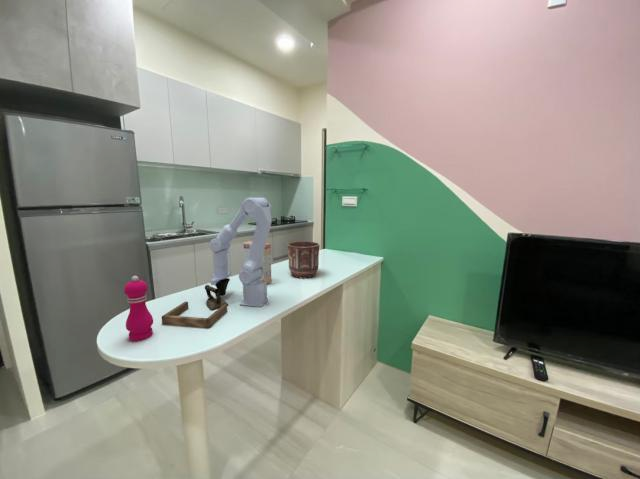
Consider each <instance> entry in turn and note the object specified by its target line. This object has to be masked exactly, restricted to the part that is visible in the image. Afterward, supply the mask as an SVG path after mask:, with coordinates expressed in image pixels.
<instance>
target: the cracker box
mask: <svg viewBox="0 0 640 479" xmlns="http://www.w3.org/2000/svg"><path fill="white" fill-rule="evenodd" d="M252 241H253V240H249V241H244V242H243V262H244V264H245V263H246V262H247V260H248V257H249V253H250V249H251V245H252ZM261 262H262V263H263V264H264V266H263V270H264V274H263V276H262V277H261V282H263V283H266V284H267V285H269V284H271V283H272V244H271V243H269V242H266V246H265V249H264V253H263V257H262V261H261ZM244 264H243V265H244Z"/></svg>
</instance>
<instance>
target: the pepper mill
mask: <svg viewBox="0 0 640 479" xmlns="http://www.w3.org/2000/svg"><path fill="white" fill-rule="evenodd" d="M148 288H149V287H148V284H147V283H146V282H145V281H144V280H142V279H139V276H137V275H133V276H131V281H129V282H126V284H125V285H124V289H123V292H124V294H125V295H126V297H127V298H126V299H127V300H126V301H127V303H128V304H129V312H128V316H127V319H126V321H125V328H126V330H127V331H128V339H129V341H131V342H132V341H133V342H138V341H139V342H140V341H144V340H146V339H149V338H150V337H151V336H153V328H152V325H153V324H154V318H153V315H152V313H151V312H150V311H149V309H148V307H147V304H146V300H147V299H148V297H147V294H146V293H147V292H148Z"/></svg>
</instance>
